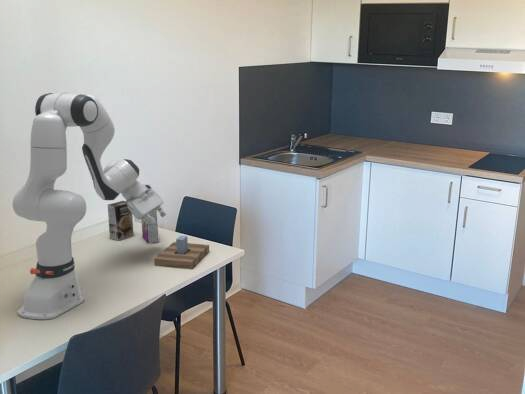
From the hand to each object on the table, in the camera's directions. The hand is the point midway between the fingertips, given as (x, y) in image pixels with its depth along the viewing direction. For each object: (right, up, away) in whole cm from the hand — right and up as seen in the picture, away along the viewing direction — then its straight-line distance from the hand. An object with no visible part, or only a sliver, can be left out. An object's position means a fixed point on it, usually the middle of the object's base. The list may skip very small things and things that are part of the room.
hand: (159, 219), depth 229 cm
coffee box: (-22, -10, +28) cm, 37 cm away
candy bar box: (-9, -10, +24) cm, 28 cm away
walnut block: (+9, -16, +2) cm, 19 cm away
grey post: (+9, -16, +2) cm, 19 cm away
